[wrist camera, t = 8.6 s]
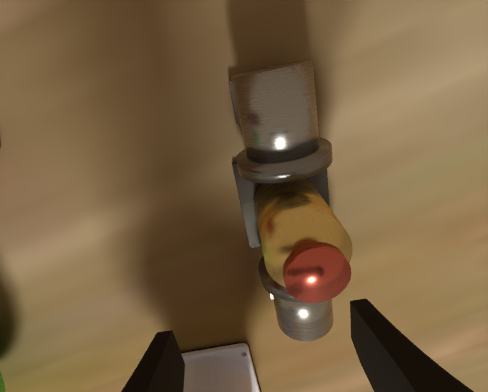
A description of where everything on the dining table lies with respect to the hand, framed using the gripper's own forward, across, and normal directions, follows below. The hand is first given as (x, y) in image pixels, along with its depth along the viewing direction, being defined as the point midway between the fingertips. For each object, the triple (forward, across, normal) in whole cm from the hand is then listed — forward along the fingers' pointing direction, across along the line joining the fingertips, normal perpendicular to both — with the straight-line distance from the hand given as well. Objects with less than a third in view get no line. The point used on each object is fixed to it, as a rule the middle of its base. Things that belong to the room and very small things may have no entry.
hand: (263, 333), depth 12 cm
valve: (+10, -3, -1) cm, 10 cm away
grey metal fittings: (+10, -3, -1) cm, 10 cm away
